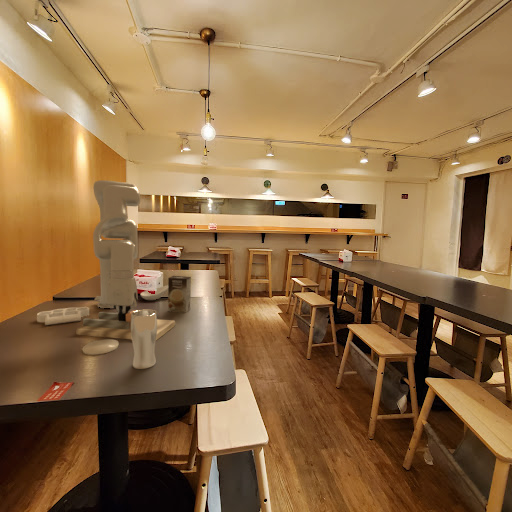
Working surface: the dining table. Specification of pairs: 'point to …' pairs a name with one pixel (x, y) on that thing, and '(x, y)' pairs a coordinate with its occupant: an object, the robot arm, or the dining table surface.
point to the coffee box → (179, 293)
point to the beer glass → (143, 337)
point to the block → (129, 317)
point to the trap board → (116, 327)
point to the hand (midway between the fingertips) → (123, 322)
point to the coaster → (100, 347)
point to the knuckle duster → (62, 315)
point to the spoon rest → (155, 296)
